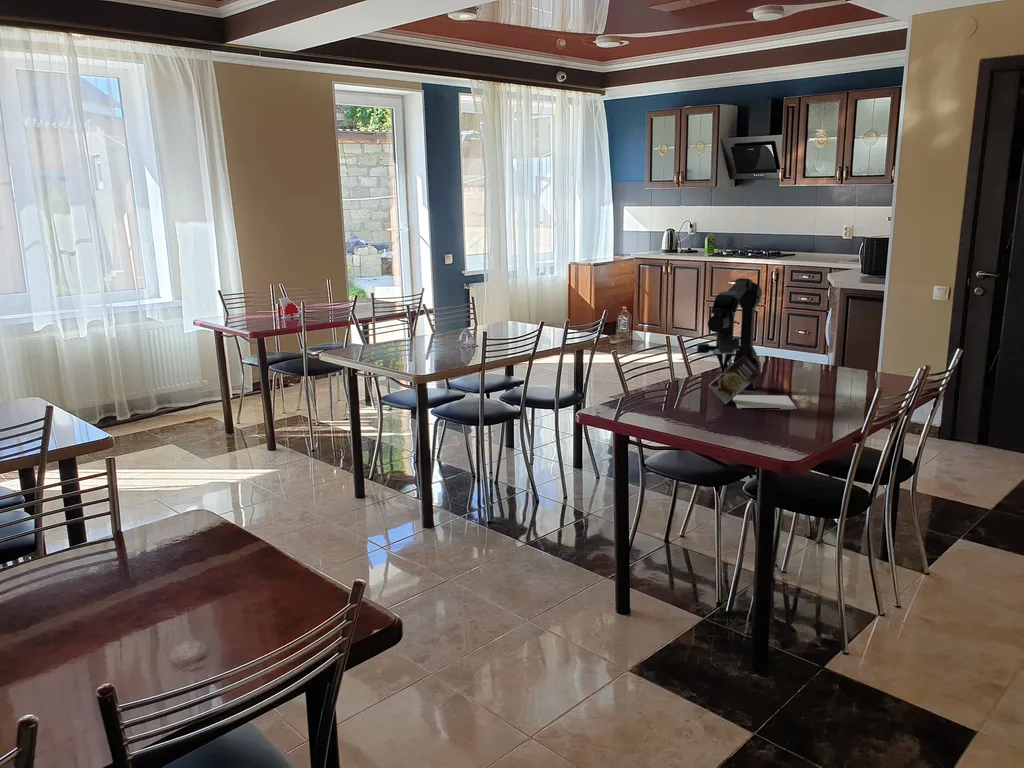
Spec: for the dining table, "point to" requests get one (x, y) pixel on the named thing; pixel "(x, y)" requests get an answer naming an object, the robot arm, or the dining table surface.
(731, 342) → the robot arm
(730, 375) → the cookie box
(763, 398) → the mat
